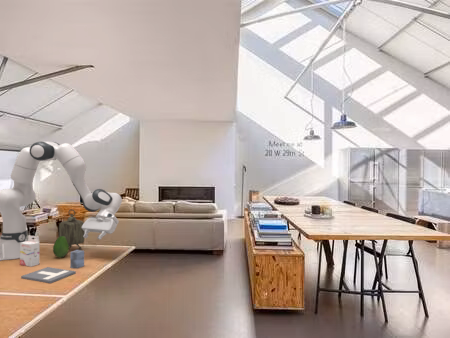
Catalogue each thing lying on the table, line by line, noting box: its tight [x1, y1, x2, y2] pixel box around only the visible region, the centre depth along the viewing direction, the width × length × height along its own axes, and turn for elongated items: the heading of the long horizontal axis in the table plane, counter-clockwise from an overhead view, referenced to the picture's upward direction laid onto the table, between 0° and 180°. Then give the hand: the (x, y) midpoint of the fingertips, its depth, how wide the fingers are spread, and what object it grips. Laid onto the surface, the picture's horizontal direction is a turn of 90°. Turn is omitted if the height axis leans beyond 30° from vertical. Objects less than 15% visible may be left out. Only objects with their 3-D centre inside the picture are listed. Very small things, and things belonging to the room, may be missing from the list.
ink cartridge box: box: [19, 234, 41, 268], centre depth 162 cm, size 9×5×15 cm, turn 71°
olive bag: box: [58, 208, 85, 250], centre depth 193 cm, size 14×9×25 cm, turn 58°
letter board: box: [20, 266, 77, 284], centre depth 146 cm, size 18×14×1 cm
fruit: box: [52, 236, 70, 259], centre depth 176 cm, size 8×8×12 cm
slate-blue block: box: [69, 249, 85, 269], centre depth 159 cm, size 4×4×8 cm
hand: (91, 238), depth 169 cm, fingers open, 8 cm apart
